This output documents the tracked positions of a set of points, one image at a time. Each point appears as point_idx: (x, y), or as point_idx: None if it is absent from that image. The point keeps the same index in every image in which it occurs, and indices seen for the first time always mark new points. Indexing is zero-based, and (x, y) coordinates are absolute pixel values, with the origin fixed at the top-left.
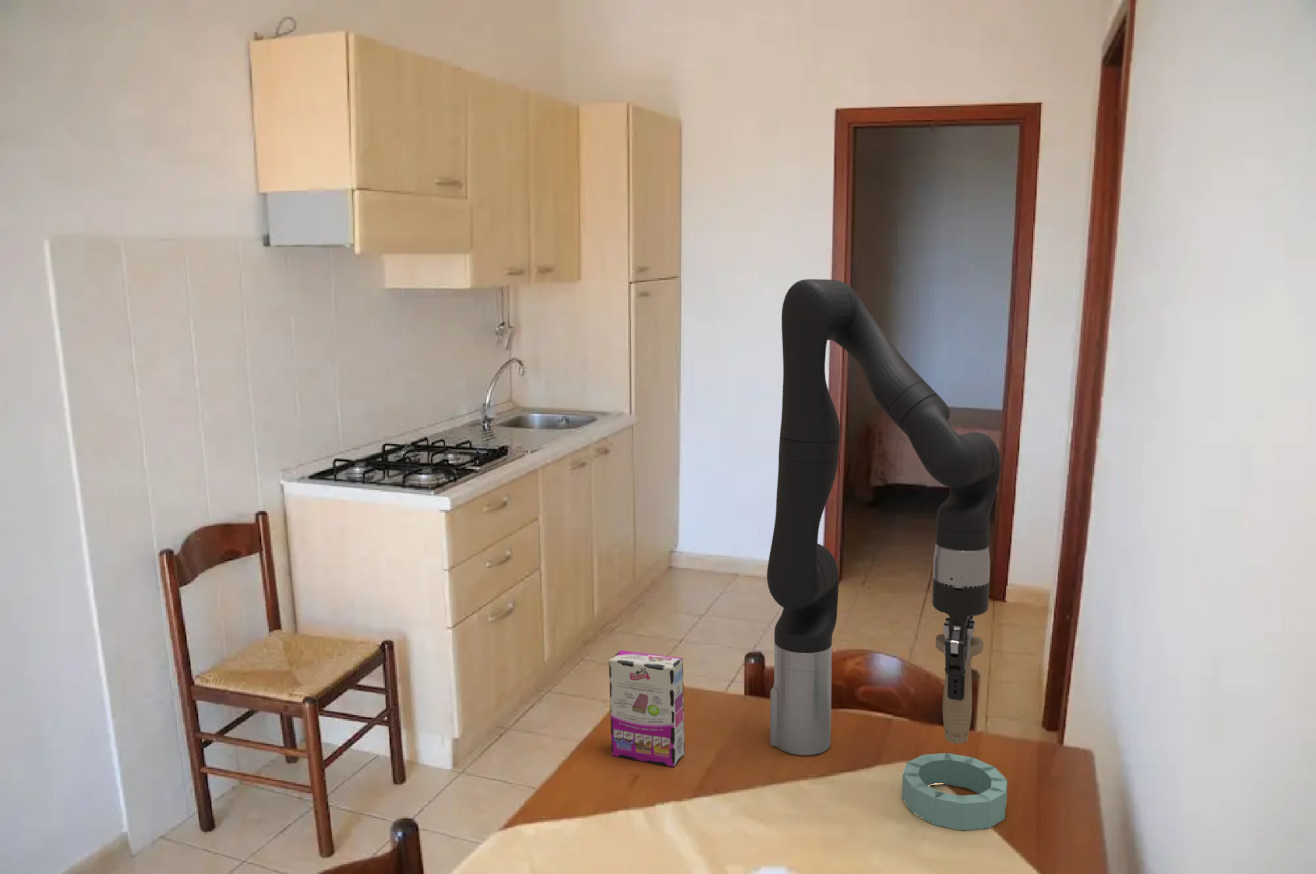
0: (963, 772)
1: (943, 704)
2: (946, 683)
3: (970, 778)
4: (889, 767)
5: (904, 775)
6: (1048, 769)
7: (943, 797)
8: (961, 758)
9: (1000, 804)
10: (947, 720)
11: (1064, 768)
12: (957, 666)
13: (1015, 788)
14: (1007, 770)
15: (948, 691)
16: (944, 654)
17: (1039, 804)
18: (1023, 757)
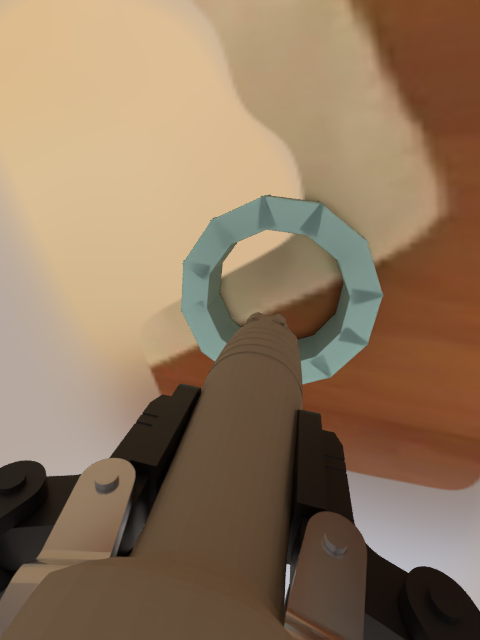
0: (340, 317)
1: (239, 349)
2: (209, 408)
3: (332, 326)
4: (408, 159)
5: (257, 199)
6: (422, 442)
7: (190, 277)
8: (358, 323)
9: None
10: (230, 339)
11: (427, 463)
12: (3, 558)
13: (348, 385)
14: (413, 385)
15: (170, 399)
16: (18, 571)
17: (302, 407)
18: (468, 417)
